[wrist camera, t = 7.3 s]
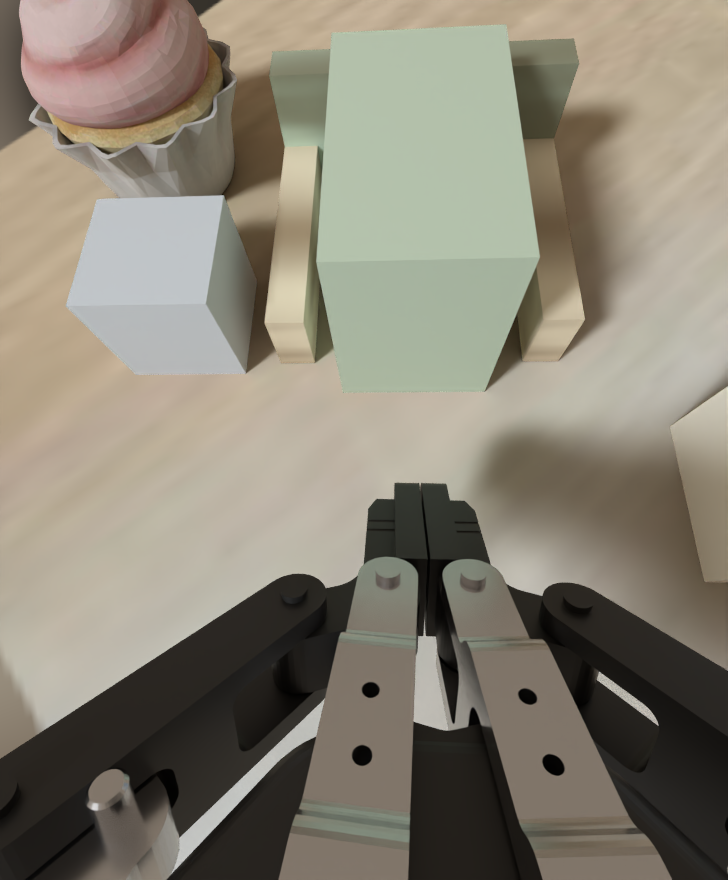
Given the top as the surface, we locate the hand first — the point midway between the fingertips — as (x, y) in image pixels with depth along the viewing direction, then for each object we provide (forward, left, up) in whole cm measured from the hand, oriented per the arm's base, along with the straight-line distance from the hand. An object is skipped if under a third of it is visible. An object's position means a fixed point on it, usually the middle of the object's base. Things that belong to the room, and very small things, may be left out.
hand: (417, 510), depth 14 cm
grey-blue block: (-3, -13, -4) cm, 14 cm away
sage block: (-10, -5, -4) cm, 12 cm away
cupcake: (-10, -20, -5) cm, 23 cm away
